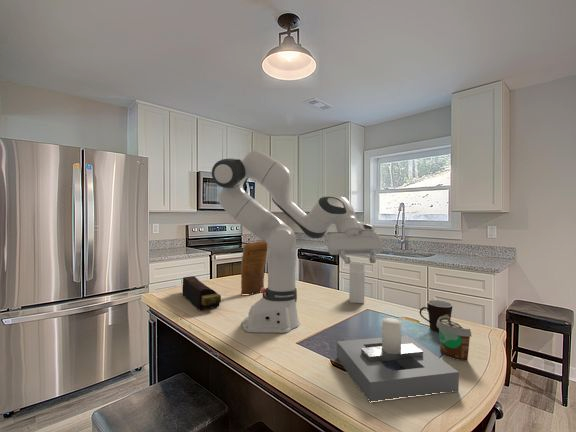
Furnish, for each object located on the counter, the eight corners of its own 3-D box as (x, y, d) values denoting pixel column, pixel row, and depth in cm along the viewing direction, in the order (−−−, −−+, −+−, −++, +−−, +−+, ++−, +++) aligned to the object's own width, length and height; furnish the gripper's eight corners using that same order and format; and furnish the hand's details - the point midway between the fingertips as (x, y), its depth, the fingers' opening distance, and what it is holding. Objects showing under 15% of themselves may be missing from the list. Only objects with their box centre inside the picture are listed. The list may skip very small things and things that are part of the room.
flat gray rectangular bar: (369, 362, 79) (369, 356, 79) (361, 353, 84) (361, 348, 84) (423, 356, 82) (423, 351, 82) (412, 348, 87) (412, 343, 87)
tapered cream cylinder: (388, 355, 80) (388, 325, 80) (378, 346, 85) (378, 318, 85) (404, 352, 81) (405, 323, 81) (394, 344, 86) (394, 317, 86)
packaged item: (223, 311, 134) (223, 288, 133) (201, 315, 128) (201, 292, 128) (198, 290, 166) (198, 272, 166) (180, 293, 161) (180, 274, 161)
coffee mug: (449, 326, 116) (450, 301, 116) (454, 335, 108) (454, 308, 108) (417, 322, 120) (417, 298, 120) (419, 331, 112) (419, 304, 112)
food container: (428, 344, 101) (428, 315, 100) (445, 344, 101) (446, 315, 101) (451, 363, 88) (452, 330, 88) (470, 362, 89) (471, 329, 89)
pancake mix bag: (271, 290, 166) (271, 240, 165) (244, 298, 152) (244, 243, 152) (263, 288, 171) (263, 239, 170) (236, 295, 157) (236, 242, 156)
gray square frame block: (370, 403, 70) (370, 382, 70) (336, 357, 92) (336, 341, 92) (458, 391, 75) (458, 371, 75) (407, 350, 96) (407, 335, 96)
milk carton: (364, 303, 144) (364, 264, 144) (349, 302, 146) (349, 264, 145) (363, 299, 151) (364, 262, 151) (349, 298, 153) (349, 261, 152)
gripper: (325, 226, 108) (334, 257, 98) (377, 226, 112) (391, 256, 102) (321, 237, 112) (330, 268, 103) (371, 237, 116) (384, 266, 107)
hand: (360, 262), depth 103 cm, fingers open, 8 cm apart
